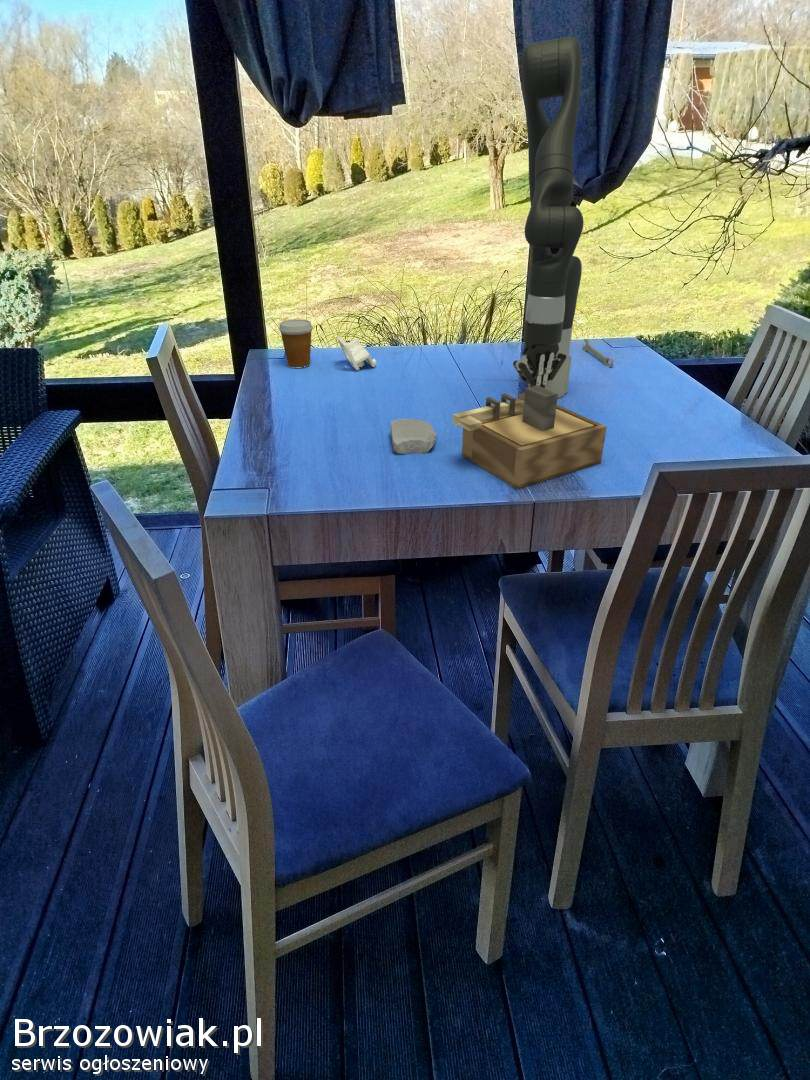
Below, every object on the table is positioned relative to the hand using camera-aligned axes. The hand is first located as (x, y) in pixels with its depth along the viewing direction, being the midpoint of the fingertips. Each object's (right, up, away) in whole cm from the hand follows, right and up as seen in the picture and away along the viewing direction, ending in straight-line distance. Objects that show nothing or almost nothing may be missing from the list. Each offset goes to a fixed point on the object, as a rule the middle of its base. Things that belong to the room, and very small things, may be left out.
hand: (535, 401), depth 144 cm
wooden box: (-2, -13, -3) cm, 13 cm away
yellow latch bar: (-9, -5, -6) cm, 11 cm away
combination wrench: (+29, +24, +58) cm, 69 cm away
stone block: (-26, -9, +4) cm, 28 cm away
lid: (-1, -7, -8) cm, 11 cm away
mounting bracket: (-42, +21, +52) cm, 70 cm away
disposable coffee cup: (-58, +21, +52) cm, 81 cm away
